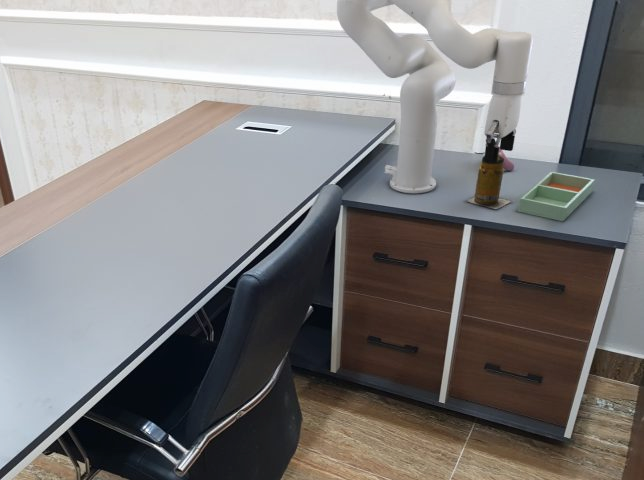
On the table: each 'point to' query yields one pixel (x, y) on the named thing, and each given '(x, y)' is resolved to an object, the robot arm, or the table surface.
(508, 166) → the pink animal figurine
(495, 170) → the condiment
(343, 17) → the robot arm
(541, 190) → the tray
